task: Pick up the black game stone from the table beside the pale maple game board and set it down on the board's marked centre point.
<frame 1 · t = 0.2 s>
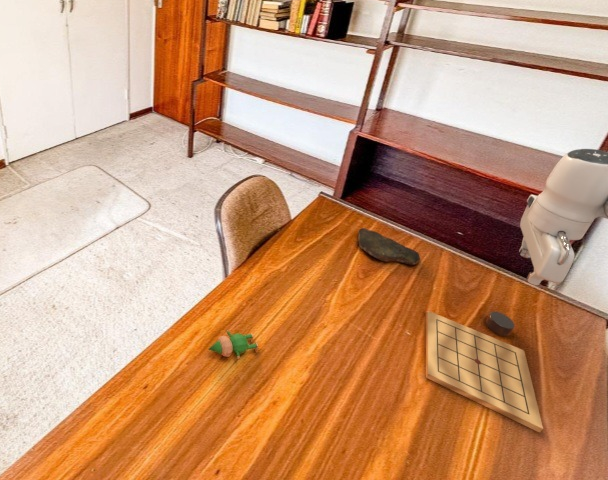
hand: (527, 268, 89), 25 cm above the table, tool pointing down, fingers open, 8 cm apart
figurine: (230, 351, 94), on the table
stone: (385, 254, 125), on the table
game stone: (497, 327, 103), on the table
go board: (475, 365, 93), on the table
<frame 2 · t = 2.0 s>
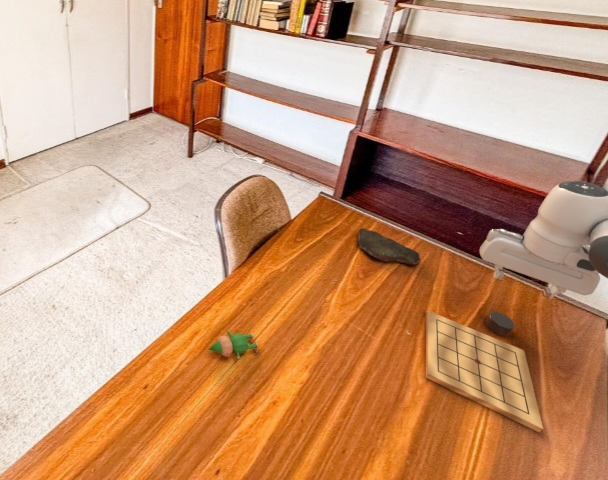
hand: (521, 286, 96), 15 cm above the table, tool pointing down, fingers open, 8 cm apart
nothing on the table moved.
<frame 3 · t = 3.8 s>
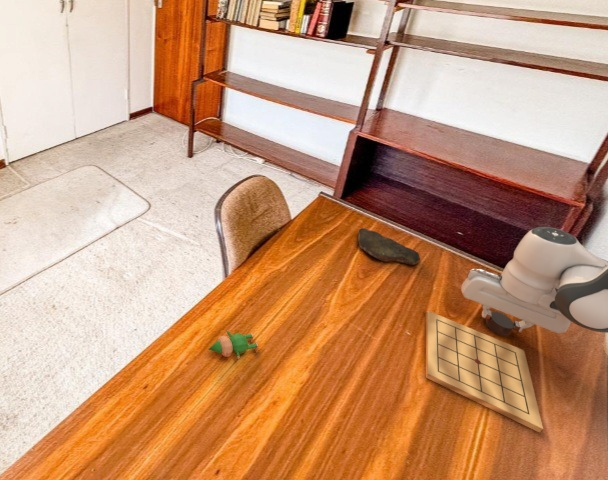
hand: (500, 322, 102), 2 cm above the table, tool pointing down, fingers closed on game stone, 5 cm apart
game stone: (497, 327, 103), on the table, touching gripper
everything else where it was.
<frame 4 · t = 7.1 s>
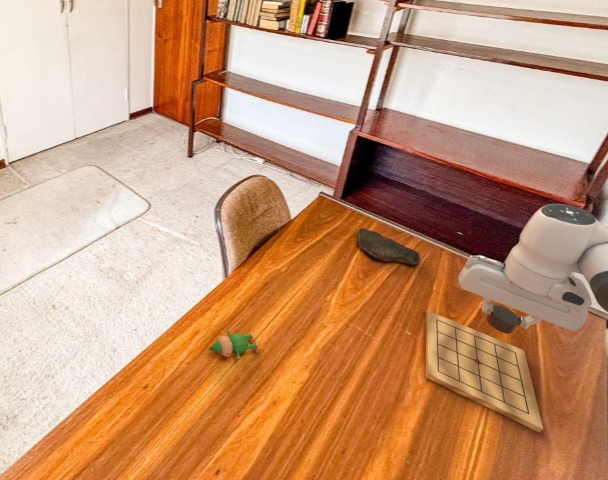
hand: (503, 318, 88), 15 cm above the table, tool pointing down, fingers closed on game stone, 5 cm apart
game stone: (499, 323, 89), point 13 cm above the table, touching gripper
everything else where it was.
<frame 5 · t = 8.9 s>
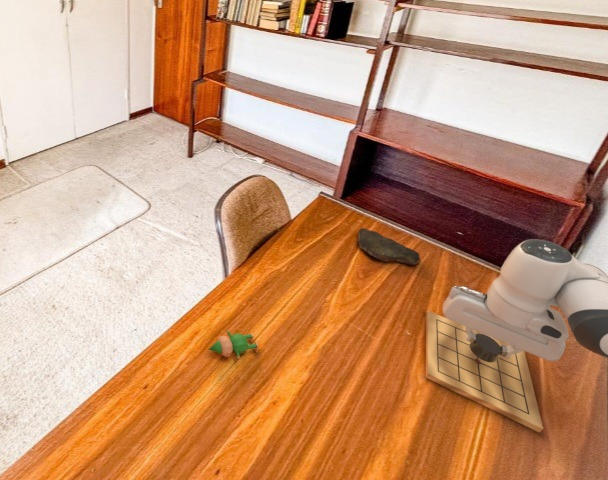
hand: (485, 347, 90), 7 cm above the table, tool pointing down, fingers closed on game stone, 5 cm apart
game stone: (482, 351, 91), point 5 cm above the table, touching gripper
everything else where it was.
when the fingers open (3 cm above the table, at t = 10.2 s): game stone stays where it is, resting on go board.
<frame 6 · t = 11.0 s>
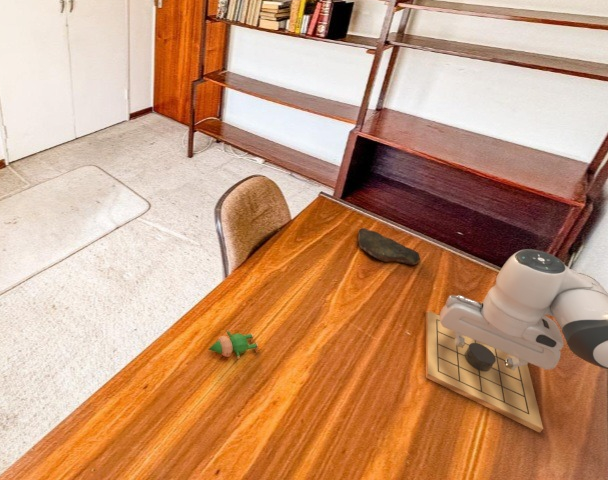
hand: (482, 355, 91), 4 cm above the table, tool pointing down, fingers open, 8 cm apart
game stone: (477, 361, 92), point 2 cm above the table, touching go board
everything else where it was.
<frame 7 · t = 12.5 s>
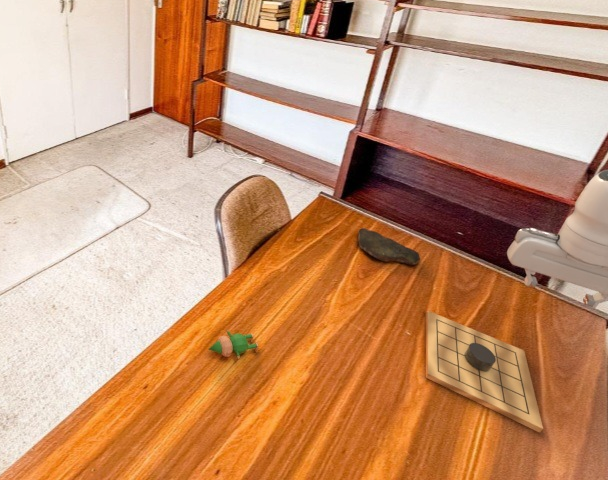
hand: (558, 294, 84), 24 cm above the table, tool pointing down, fingers open, 8 cm apart
nothing on the table moved.
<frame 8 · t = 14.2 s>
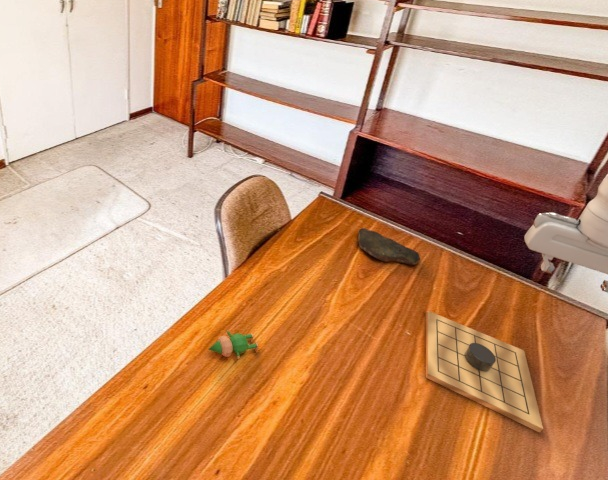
hand: (575, 280, 83), 27 cm above the table, tool pointing down, fingers open, 8 cm apart
nothing on the table moved.
at the end: game stone 0.1 cm off-centre on the go board, point 1.6 cm above the go board's base; game stone tilted 0°; the gripper is holding nothing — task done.
